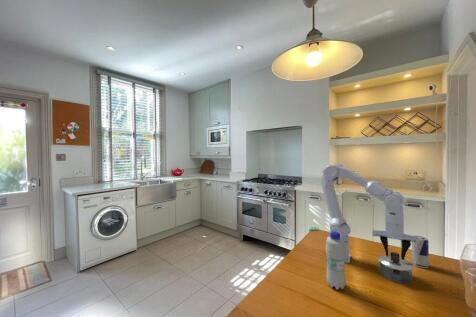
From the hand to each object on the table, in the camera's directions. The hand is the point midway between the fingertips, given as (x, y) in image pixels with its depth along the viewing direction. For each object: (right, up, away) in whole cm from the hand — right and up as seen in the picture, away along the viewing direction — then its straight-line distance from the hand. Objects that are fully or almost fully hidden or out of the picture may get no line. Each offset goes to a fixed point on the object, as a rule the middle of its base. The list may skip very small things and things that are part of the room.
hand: (394, 257), depth 80 cm
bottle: (-26, -8, -6) cm, 28 cm away
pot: (0, -7, 0) cm, 7 cm away
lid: (0, -2, 0) cm, 2 cm away
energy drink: (+17, -7, +7) cm, 20 cm away
